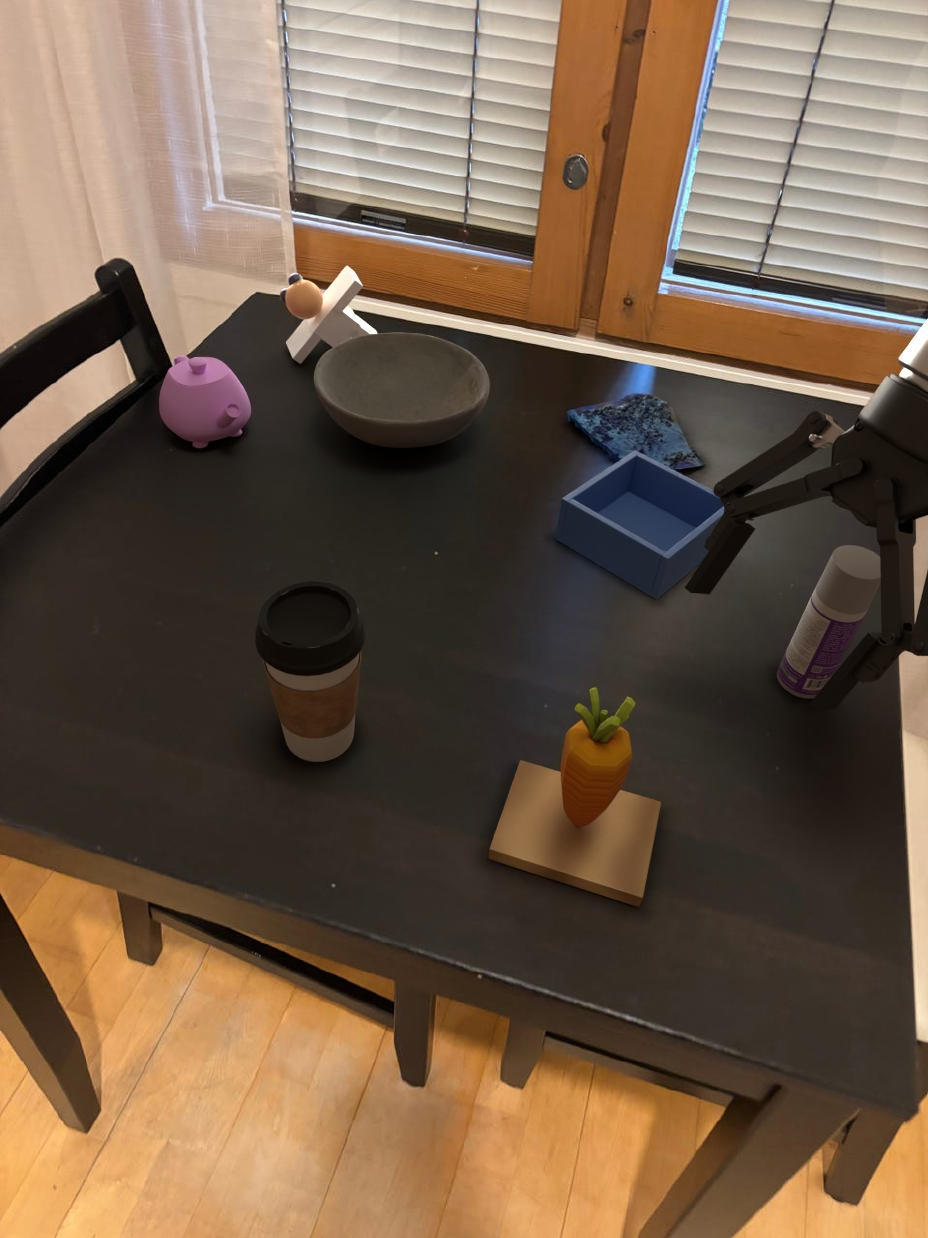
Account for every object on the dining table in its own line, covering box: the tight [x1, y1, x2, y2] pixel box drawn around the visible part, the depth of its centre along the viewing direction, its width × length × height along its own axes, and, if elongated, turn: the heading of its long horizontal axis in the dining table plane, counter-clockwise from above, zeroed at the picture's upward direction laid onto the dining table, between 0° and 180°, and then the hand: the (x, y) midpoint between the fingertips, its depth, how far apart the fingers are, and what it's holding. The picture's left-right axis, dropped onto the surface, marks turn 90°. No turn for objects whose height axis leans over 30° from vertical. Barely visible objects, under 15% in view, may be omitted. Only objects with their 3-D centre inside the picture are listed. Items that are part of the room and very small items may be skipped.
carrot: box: [560, 686, 636, 827], centre depth 65 cm, size 5×5×15 cm
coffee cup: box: [254, 580, 366, 763], centre depth 71 cm, size 8×8×15 cm
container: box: [776, 544, 881, 699], centre depth 79 cm, size 5×5×15 cm
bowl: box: [313, 331, 491, 449], centre depth 109 cm, size 21×21×8 cm
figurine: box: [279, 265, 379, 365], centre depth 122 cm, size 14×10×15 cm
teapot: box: [158, 354, 252, 449], centre depth 105 cm, size 10×15×9 cm
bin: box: [554, 451, 724, 600], centre depth 96 cm, size 14×14×6 cm
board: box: [487, 759, 662, 908], centre depth 70 cm, size 12×9×2 cm
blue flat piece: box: [566, 392, 706, 471], centre depth 112 cm, size 15×17×2 cm
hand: (755, 645), depth 67 cm, fingers open, 13 cm apart
